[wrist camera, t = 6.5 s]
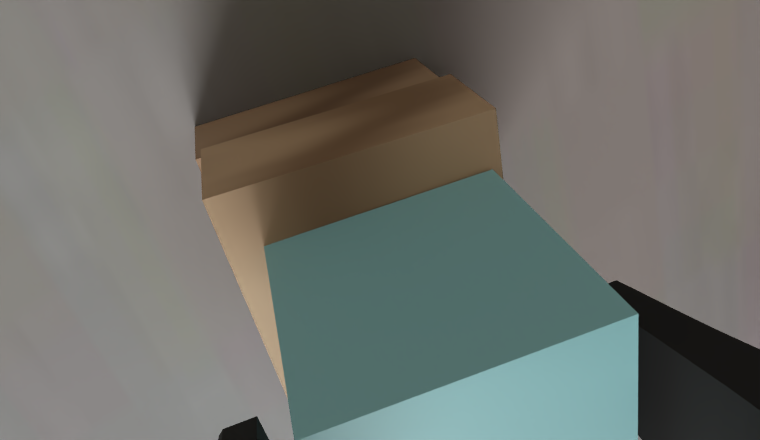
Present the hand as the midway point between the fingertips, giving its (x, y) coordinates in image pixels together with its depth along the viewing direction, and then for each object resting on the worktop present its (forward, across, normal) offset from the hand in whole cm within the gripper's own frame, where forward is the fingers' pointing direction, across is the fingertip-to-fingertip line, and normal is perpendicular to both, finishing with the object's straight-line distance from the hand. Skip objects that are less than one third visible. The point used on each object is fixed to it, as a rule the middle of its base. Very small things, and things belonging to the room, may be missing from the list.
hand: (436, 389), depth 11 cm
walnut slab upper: (+6, 0, -1) cm, 6 cm away
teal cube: (+3, 0, 0) cm, 3 cm away
